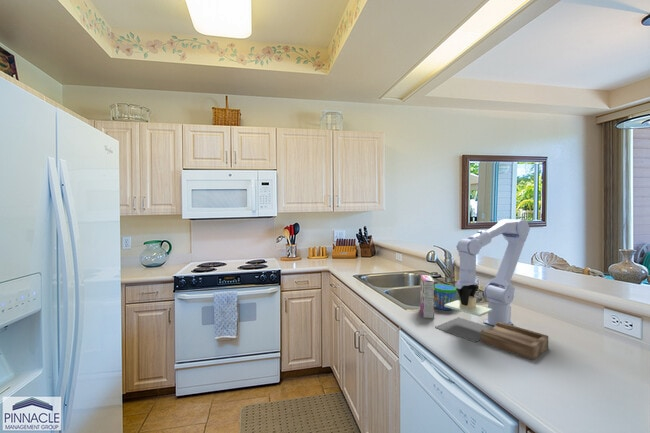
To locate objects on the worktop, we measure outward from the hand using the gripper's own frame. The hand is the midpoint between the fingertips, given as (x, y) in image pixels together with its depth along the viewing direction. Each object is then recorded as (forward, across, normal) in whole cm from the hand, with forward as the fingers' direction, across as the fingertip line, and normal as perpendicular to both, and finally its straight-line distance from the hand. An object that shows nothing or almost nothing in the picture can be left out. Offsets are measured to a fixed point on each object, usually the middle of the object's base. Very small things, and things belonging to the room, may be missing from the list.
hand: (466, 304), depth 118 cm
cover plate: (+2, 0, 0) cm, 2 cm away
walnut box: (+10, 0, -17) cm, 20 cm away
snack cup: (+10, +16, +19) cm, 27 cm away
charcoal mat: (+10, 0, 0) cm, 10 cm away
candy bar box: (+10, +2, +19) cm, 22 cm away
